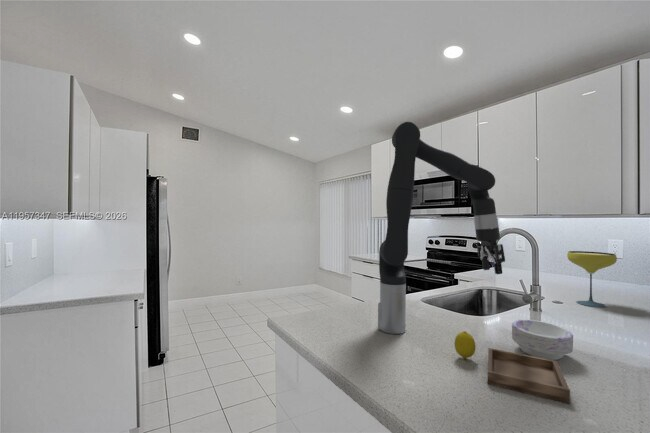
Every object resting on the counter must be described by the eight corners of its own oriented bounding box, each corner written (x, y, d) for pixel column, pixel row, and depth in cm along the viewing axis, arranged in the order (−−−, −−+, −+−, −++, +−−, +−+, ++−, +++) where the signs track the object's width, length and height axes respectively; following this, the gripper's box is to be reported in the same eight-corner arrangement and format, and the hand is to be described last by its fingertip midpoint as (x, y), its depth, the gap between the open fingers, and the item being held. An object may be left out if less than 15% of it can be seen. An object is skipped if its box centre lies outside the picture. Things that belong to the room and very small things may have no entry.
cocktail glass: (578, 307, 141) (578, 254, 141) (560, 298, 158) (560, 250, 158) (626, 311, 136) (626, 256, 136) (602, 301, 153) (602, 251, 153)
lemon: (477, 364, 84) (478, 335, 85) (456, 362, 86) (457, 334, 86) (472, 355, 90) (472, 328, 90) (452, 353, 91) (452, 327, 91)
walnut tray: (487, 383, 74) (487, 371, 74) (488, 358, 88) (488, 347, 88) (569, 403, 67) (569, 390, 67) (556, 372, 80) (556, 360, 81)
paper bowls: (577, 370, 81) (577, 341, 82) (511, 356, 90) (511, 329, 90) (568, 350, 94) (568, 324, 94) (511, 339, 102) (511, 316, 102)
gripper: (467, 227, 116) (472, 269, 115) (485, 228, 101) (492, 276, 101) (487, 225, 115) (492, 267, 115) (508, 226, 101) (514, 274, 101)
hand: (492, 271), depth 108 cm, fingers open, 8 cm apart
